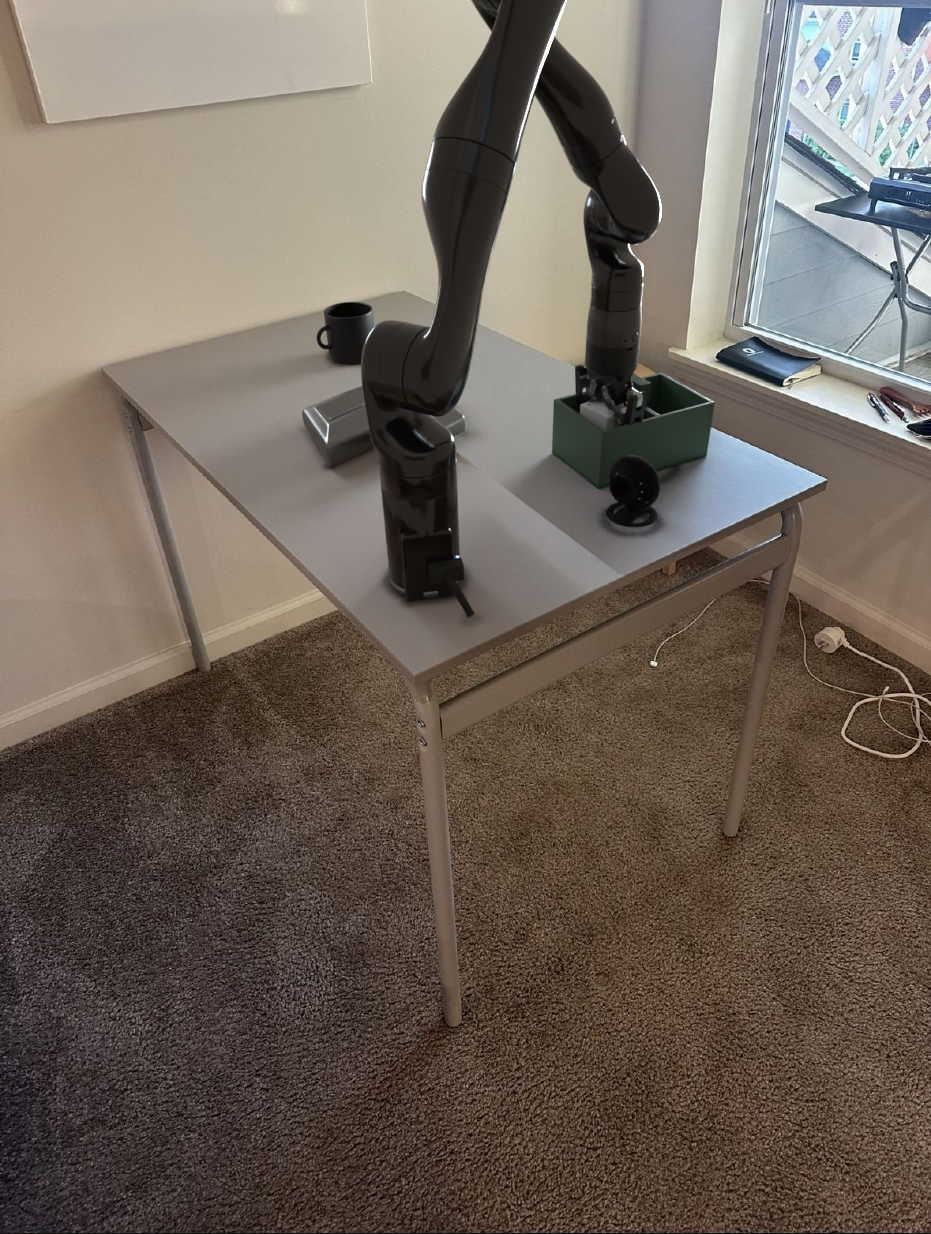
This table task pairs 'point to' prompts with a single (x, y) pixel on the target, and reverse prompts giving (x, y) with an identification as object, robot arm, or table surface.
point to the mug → (346, 330)
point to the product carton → (599, 414)
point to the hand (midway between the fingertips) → (605, 442)
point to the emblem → (352, 426)
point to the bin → (635, 431)
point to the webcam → (633, 490)
